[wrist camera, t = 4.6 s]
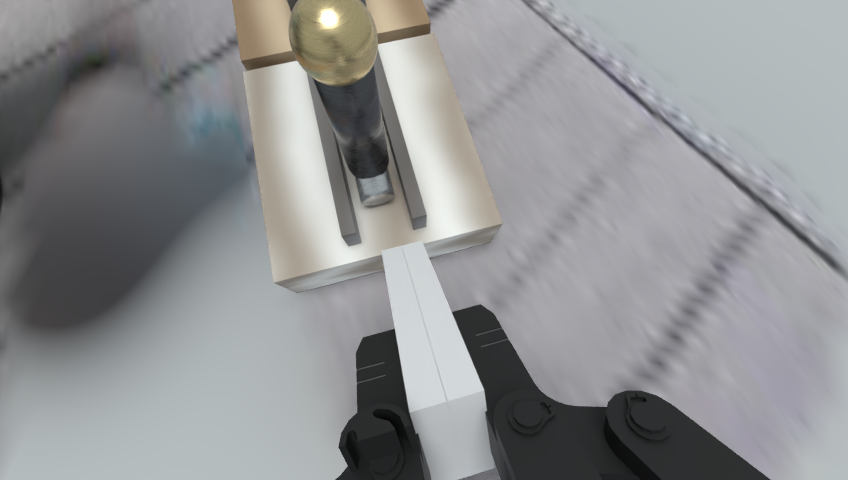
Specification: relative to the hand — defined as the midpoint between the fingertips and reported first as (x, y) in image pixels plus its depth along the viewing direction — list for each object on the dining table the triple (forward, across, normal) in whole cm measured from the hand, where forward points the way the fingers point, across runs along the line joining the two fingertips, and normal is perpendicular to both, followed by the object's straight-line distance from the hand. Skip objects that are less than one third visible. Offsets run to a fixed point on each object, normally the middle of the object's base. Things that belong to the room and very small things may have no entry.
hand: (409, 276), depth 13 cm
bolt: (+13, -1, +4) cm, 14 cm away
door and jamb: (+19, -1, +3) cm, 19 cm away
